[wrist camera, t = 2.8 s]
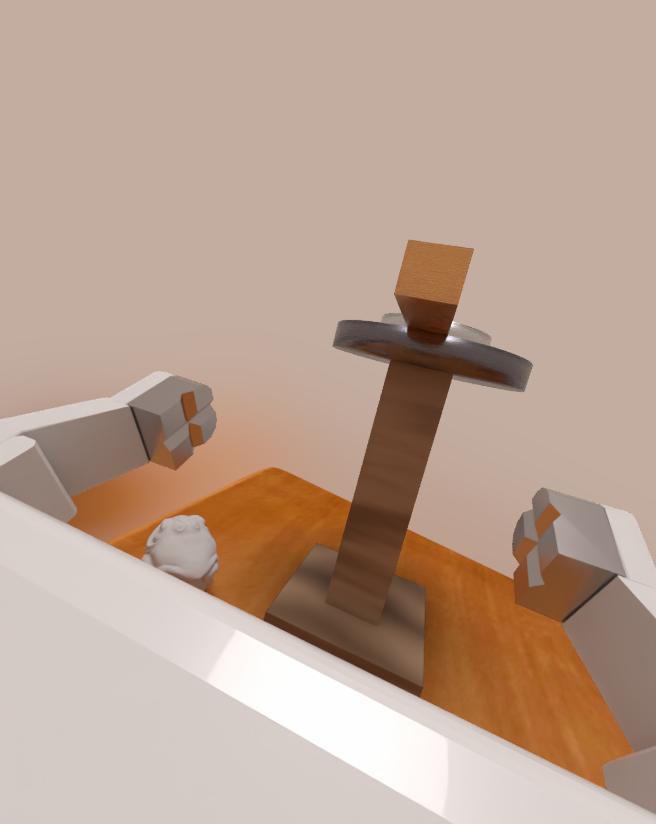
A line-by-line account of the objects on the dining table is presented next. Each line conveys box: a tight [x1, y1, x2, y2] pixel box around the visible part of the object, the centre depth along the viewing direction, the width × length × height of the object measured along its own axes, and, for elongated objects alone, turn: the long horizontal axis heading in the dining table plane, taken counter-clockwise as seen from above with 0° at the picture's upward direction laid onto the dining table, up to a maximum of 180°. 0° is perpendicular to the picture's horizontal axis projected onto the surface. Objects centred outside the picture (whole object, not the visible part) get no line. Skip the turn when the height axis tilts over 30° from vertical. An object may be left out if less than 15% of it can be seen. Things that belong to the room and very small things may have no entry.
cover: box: [381, 240, 491, 346], centre depth 25 cm, size 24×10×2 cm, turn 163°
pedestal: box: [264, 320, 533, 698], centre depth 31 cm, size 16×16×26 cm
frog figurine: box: [141, 515, 219, 591], centre depth 29 cm, size 6×7×7 cm
